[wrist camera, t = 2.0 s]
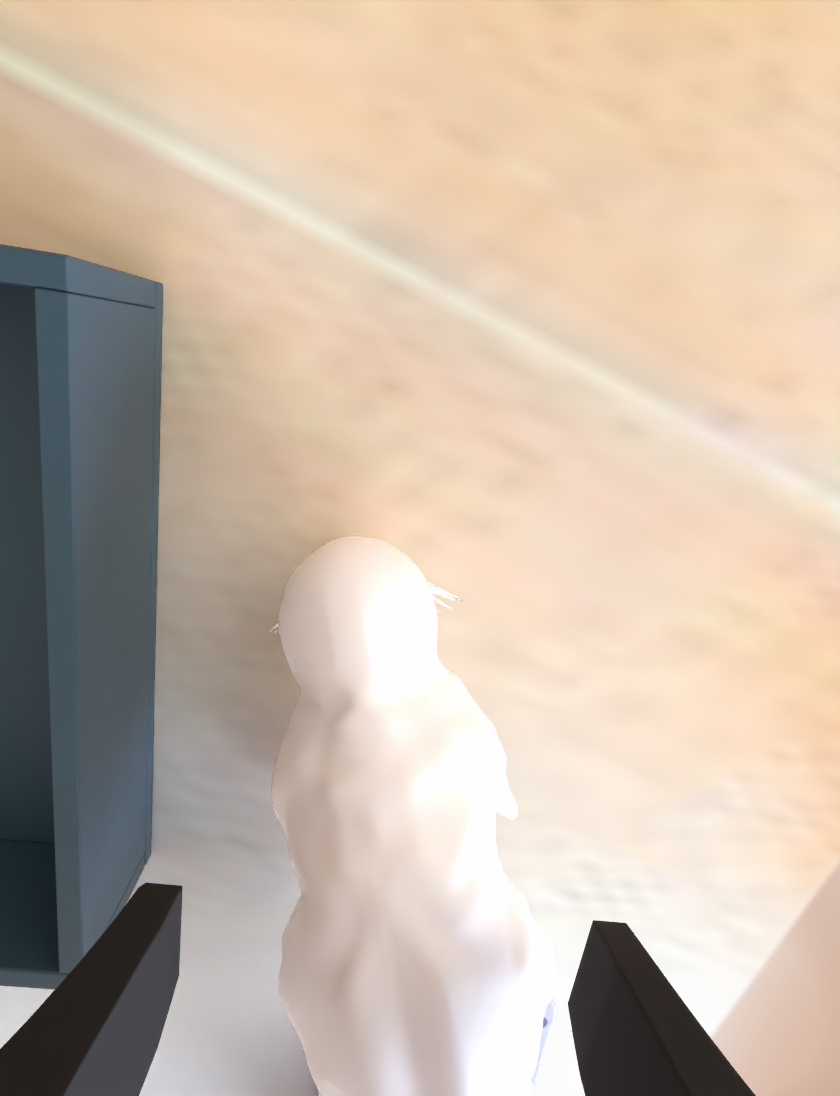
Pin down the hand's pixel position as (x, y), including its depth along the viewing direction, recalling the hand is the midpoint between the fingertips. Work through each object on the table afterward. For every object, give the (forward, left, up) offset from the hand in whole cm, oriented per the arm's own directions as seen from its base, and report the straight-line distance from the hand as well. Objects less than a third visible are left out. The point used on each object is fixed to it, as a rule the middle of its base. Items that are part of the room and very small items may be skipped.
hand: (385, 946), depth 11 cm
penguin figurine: (0, 0, -8) cm, 8 cm away
